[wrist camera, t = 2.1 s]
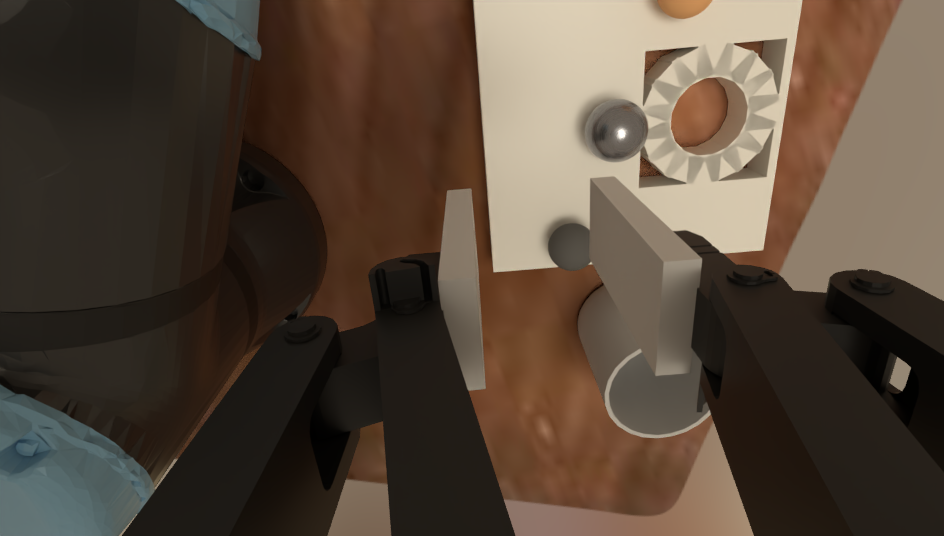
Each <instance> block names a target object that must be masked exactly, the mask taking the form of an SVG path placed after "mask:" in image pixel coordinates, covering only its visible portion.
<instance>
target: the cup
mask: <svg viewBox="0 0 944 536" xmlns="http://www.w3.org/2000/svg"><path fill="white" fill-rule="evenodd" d="M577 323H578V334H579V338H580V340H581V343H582V346H583V348H584V351H585V353H586V356H587V359H588V361H589V364H590V366H591V369H592V372H593V374H594V377H595V380H596V382H597V385H598V387H599V390H600V393H601V395H602V398H603V401H604V403H605V406H606V408H607V411H608V413H609V416H610V417H611V418H612V420H613V421H614V422H615V423H616V424H617V425H618V426H619V427H620V428H622V429H624V430H625V431H627V432H628V433H631V434H634V435H637V436H641V437H648V438H662V437H670V436H674V435H677V434H680V433H683V432H686V431H688V430H690V429H692V428H693V427H695V426H697V425H699V424H700V423H701V422H703V421H704V420H705V419H706V418H707V417H708V416H709V415H711V413H710V410H709V407H708V404H707V402H706V403H705V404H704V405H703V411H702V413H701V412H697V399H698V390H699V382H700V373H701V364H702V362H701V360H700V359H699V358H698V356H697V355H696V353H695V352H694V351H693V352H692V361H691V370H690V373H686V374H673V375H660V376H655V374H654V372H653V371H652V369H651V367H650V365H649V364H648V362H647V360H646V358H645V356H644V355H643V353H642V351H641V349H640V348H639V346H638V344H637V342H636V340H635V339H634V337H633V335H632V333H631V331H630V330H629V328H628V326H627V324H626V323H625V321H624V319H623V317H622V315H621V314H620V312H619V310H618V308H617V307H616V305H615V303H614V301H613V299H612V298H611V296H610V294H609V292H608V290H607V289H606V287H605V285H603V286H602V287H600V288H599V289H597V290H596V291H594V292H593V293H592V294H591V295H590V297H589V298H588V299H587V300H586V301H585V303H584V304H583V306H582V308H581V310H580V313H579V317H578V322H577Z"/></svg>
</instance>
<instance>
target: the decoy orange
mask: <svg viewBox="0 0 944 536" xmlns="http://www.w3.org/2000/svg"><path fill="white" fill-rule="evenodd" d="M657 2H658V4H659V6H660V8H661V9H662V11H663V12H665V13H666V14H667V15H669V16H671V17H673V18H677V19H686V18H691V17H694V16H696V15H698V14H699V13H701V12H702V11H704V10H705V9H706V8H707V7H708V6H709V5H710V3H711V2H712V0H657Z"/></svg>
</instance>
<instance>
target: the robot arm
mask: <svg viewBox="0 0 944 536" xmlns="http://www.w3.org/2000/svg"><path fill="white" fill-rule="evenodd" d="M259 7H260V0H0V536H119V535H120V534H121V533H122V531H123V530H124V529H125V528H126V526H127V525H128V524H129V523H130V521H131V520H132V519H133V518H134V517H135V515H136V514H137V516H136V517H135V518H134V520H133V521H132V523H131V524H130V525H129V527H128V528H127V529H126V531H125V532H124V533H123V535H122V536H327V535H328V532H329V529H330V526H331V523H332V520H333V517H334V514H335V511H336V508H337V505H338V501H339V498H340V495H341V492H342V489H343V486H344V483H345V480H346V477H347V474H348V471H349V468H350V465H351V462H352V459H353V456H354V453H355V450H356V447H357V444H358V441H359V438H360V428H362V427H365V426H368V425H372V424H375V423H378V422H381V421H383V427H384V441H385V454H386V468H387V482H388V494H389V509H390V523H391V535H392V536H515V533H514V530H513V527H512V524H511V521H510V518H509V515H508V512H507V509H506V506H505V503H504V499H503V496H502V493H501V490H500V487H499V484H498V481H497V478H496V475H495V472H494V469H493V465H492V462H491V459H490V456H489V453H488V450H487V447H486V444H485V441H484V438H483V435H482V432H481V429H480V425H479V422H478V419H477V416H476V413H475V410H474V407H473V404H472V401H471V398H470V395H469V392H468V390H480V389H486V387H485V371H484V355H483V338H482V322H481V306H480V289H479V273H478V260H477V248H476V237H475V225H474V214H473V202H472V191H471V189H459V190H448V191H447V198H446V207H445V217H444V226H443V235H442V245H441V252H436V253H424V254H412V255H408V256H407V257H400V258H395V259H391V260H387V261H384V262H382V263H380V264H377V265H376V266H375V267H373V268H372V269H371V270H370V272H369V275H368V276H369V281H370V287H371V292H372V298H373V303H374V309H375V318H376V320H374V321H373V322H371V323H368V324H366V325H364V326H361V327H358V328H354V329H350V330H346V331H342V332H339V330H338V326H337V324H336V322H335V321H334V320H333V319H331V318H328V317H325V316H309V317H305V316H303V317H301V316H302V315H303V314H304V313H305V311H306V310H307V308H308V307H309V305H310V303H311V302H312V300H313V298H314V297H315V295H316V293H317V291H318V289H319V287H320V285H321V283H322V280H323V277H324V273H325V268H326V261H327V244H326V237H325V232H324V228H323V224H322V221H321V218H320V216H319V213H318V211H317V209H316V207H315V205H314V203H313V201H312V199H311V198H310V196H309V195H308V193H307V192H306V190H305V189H304V187H303V186H302V185H301V184H300V182H299V181H298V180H297V179H296V178H295V177H294V176H293V175H292V174H291V173H290V172H289V171H288V170H287V169H286V168H285V167H284V166H283V165H282V164H280V163H279V162H278V161H276V160H275V159H274V158H272V157H271V156H270V155H268V154H266V153H265V152H263V151H261V150H260V149H258V148H256V147H254V146H252V145H250V144H248V143H245V142H243V141H242V138H243V132H244V126H245V120H246V114H247V108H248V101H249V95H250V89H251V83H252V77H253V71H254V65H255V60H257V61H260V57H261V46H260V44H259V43H258V41H257V35H258V21H259ZM589 258H590V260H591V262H592V264H593V266H594V267H595V269H596V271H597V273H598V274H599V276H600V278H601V280H602V282H603V283H604V285H605V287H606V289H607V290H608V292H609V294H610V296H611V298H612V299H613V301H614V303H615V305H616V307H617V308H618V310H619V312H620V314H621V315H622V317H623V319H624V321H625V323H626V324H627V326H628V328H629V330H630V331H631V333H632V335H633V337H634V339H635V340H636V342H637V344H638V346H639V348H640V349H641V351H642V353H643V355H644V356H645V358H646V360H647V362H648V364H649V365H650V367H651V369H652V371H653V372H654V374H655V376H660V375H673V374H686V373H690V370H691V361H692V352H693V351H694V352H695V353H696V355H697V356H698V358H699V359H700V360H701V362H702V364H701V373H700V382H699V390H698V399H697V412H701V413H702V411H703V405H704V404H705V403H706V402H707V404H708V407H709V410H710V413H711V415H712V418H713V421H714V424H715V427H716V430H717V432H718V435H719V438H720V441H721V444H722V447H723V449H724V452H725V455H726V458H727V460H728V463H729V466H730V469H731V472H732V475H733V478H734V480H735V483H736V486H737V489H738V492H739V495H740V497H741V500H742V503H743V506H744V509H745V512H746V514H747V517H748V520H749V523H750V526H751V529H752V531H753V534H754V536H944V301H942V300H940V299H938V298H936V297H934V296H933V295H930V294H928V293H927V292H925V291H923V290H921V289H919V288H917V287H915V286H913V285H911V284H909V283H907V282H906V281H903V280H901V279H898V278H896V277H893V276H890V275H886V274H882V273H881V272H879V271H874V270H869V271H868V270H864V269H858V270H854V271H853V270H852V271H842V272H838V273H835V274H833V275H832V276H831V277H830V279H829V284H828V288H827V293H821V292H806V291H794V290H792V288H791V287H790V286H789V285H788V284H787V282H786V281H785V280H784V279H783V278H782V277H781V276H780V275H778V274H777V273H775V272H773V271H772V270H768V269H765V268H761V267H756V266H751V265H736V264H735V263H733V262H732V261H731V260H730V259H729V258H727V257H726V256H725V255H724V254H723V253H720V251H719V250H718V249H717V248H716V247H714V246H712V244H711V243H710V242H709V241H707V240H706V239H705V238H704V237H703V236H700V235H698V234H695V233H692V232H690V231H687V230H682V231H672V230H671V229H670V228H669V227H668V226H667V225H666V224H665V223H664V222H663V221H662V220H660V219H659V218H658V217H657V216H656V215H655V214H654V213H653V212H652V211H651V210H650V209H649V208H648V207H647V206H646V205H645V204H643V203H642V202H641V201H640V200H639V199H638V198H637V197H636V196H635V195H634V194H633V193H632V192H631V191H630V190H629V189H628V188H626V187H625V186H624V185H623V184H622V183H621V182H620V181H619V180H618V179H617V178H616V177H615V176H610V177H599V178H590V246H589ZM260 346H261V347H260ZM258 347H260V349H259V350H258V351H257V353H256V354H255V355H254V357H253V358H252V360H251V361H250V362H249V364H248V365H247V366H246V368H245V369H244V370H243V372H242V373H241V374H240V376H239V377H238V379H237V380H236V381H235V383H234V384H233V385H232V387H231V388H230V389H229V391H228V392H227V393H226V395H225V396H224V398H223V399H222V400H221V402H220V403H219V404H218V406H217V407H216V408H215V410H214V411H213V412H212V414H211V415H210V417H209V418H208V419H207V421H206V422H205V423H204V425H203V426H202V427H201V429H200V430H199V432H198V433H197V434H196V436H195V437H194V438H193V440H192V441H191V442H190V444H189V445H188V446H187V448H186V449H185V451H184V452H183V453H182V455H181V456H180V457H179V459H178V460H177V461H176V463H175V464H174V466H173V467H172V468H171V470H170V471H169V472H168V474H167V475H166V477H165V478H164V479H163V480H162V482H161V483H160V485H159V486H158V487H157V489H156V490H155V487H156V485H157V484H158V482H159V481H160V479H161V478H162V476H163V475H164V473H165V472H166V471H167V469H168V467H169V466H170V465H171V463H172V462H173V460H174V459H175V457H176V456H177V454H178V453H179V451H180V450H181V448H182V447H183V445H184V444H185V442H186V441H187V439H188V438H189V436H190V435H191V433H192V432H193V430H194V429H195V428H196V426H197V425H198V423H199V422H200V420H201V419H202V417H203V416H204V414H205V413H206V411H207V410H208V408H209V407H210V405H211V404H212V402H213V401H214V399H215V398H216V396H217V395H218V393H219V392H220V390H221V389H222V387H223V386H224V384H225V383H226V382H227V380H228V379H229V377H230V376H231V374H232V373H233V371H234V370H235V368H236V367H237V365H238V363H239V362H240V361H241V359H242V358H243V356H244V355H246V354H248V353H249V352H251V351H253V350H255V349H257V348H258ZM897 357H899V358H900V359H901V360H903V361H904V362H906V363H907V364H908V365H909V366H910V367H911V370H910V373H909V377H908V380H907V383H906V386H905V388H904V389H903V391H900V390H898V389H897V388H895V387H894V386H893V385H891V384H890V383H889V382H890V379H891V375H892V372H893V369H894V365H895V362H896V359H897Z"/></svg>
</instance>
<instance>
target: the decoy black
mask: <svg viewBox="0 0 944 536" xmlns="http://www.w3.org/2000/svg"><path fill="white" fill-rule="evenodd" d="M589 246H590V230H589V229H588V228H586V227H585V226H583V225H581V224H577V223H568V224H564V225H562V226H560V227H558V228H557V229H556V230H555V231H554V232H553V233H552V235H551V236H550V239H549V242H548V252H549V255H550V258H551V259H552V261H553V262H554V263H555V264H556V265H557V266H558V267H560V268H562V269H565V270H569V271H575V270H580V269H582V268H584V267H586V266H587V265H588V264H589V263H590V262H591V260H590V258H589Z"/></svg>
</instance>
